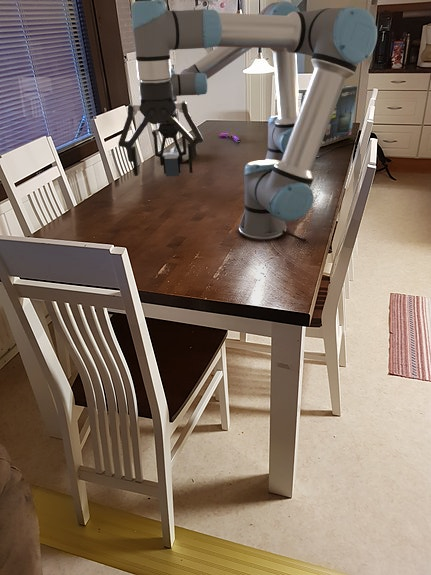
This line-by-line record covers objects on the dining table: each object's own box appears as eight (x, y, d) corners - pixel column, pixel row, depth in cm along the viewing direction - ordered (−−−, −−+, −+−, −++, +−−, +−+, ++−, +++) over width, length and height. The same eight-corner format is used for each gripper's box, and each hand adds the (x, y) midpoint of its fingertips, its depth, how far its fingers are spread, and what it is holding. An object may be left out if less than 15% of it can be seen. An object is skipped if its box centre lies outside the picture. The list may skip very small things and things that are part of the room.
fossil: (184, 156, 217) (163, 136, 220) (174, 174, 223) (154, 154, 227) (205, 153, 231) (186, 134, 234) (195, 171, 237) (176, 152, 240)
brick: (178, 171, 191) (177, 154, 188) (178, 175, 187) (177, 158, 183) (166, 172, 191) (164, 155, 187) (166, 176, 186) (164, 158, 183)
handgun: (219, 136, 267) (219, 132, 266) (232, 135, 268) (232, 131, 267) (227, 144, 249) (227, 140, 248) (240, 143, 250) (240, 139, 249)
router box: (314, 151, 231) (318, 94, 217) (296, 148, 237) (299, 92, 224) (352, 138, 251) (358, 85, 238) (335, 135, 258) (340, 83, 245)
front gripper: (209, 76, 108) (212, 165, 119) (102, 81, 107) (115, 171, 118) (210, 80, 101) (214, 174, 112) (97, 85, 100) (112, 180, 111)
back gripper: (191, 110, 180) (194, 168, 192) (144, 112, 179) (150, 170, 191) (191, 113, 174) (194, 174, 186) (143, 116, 173) (149, 176, 185)
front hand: (163, 172), depth 115 cm, fingers open, 13 cm apart
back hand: (172, 172), depth 189 cm, fingers closed on brick, 5 cm apart
